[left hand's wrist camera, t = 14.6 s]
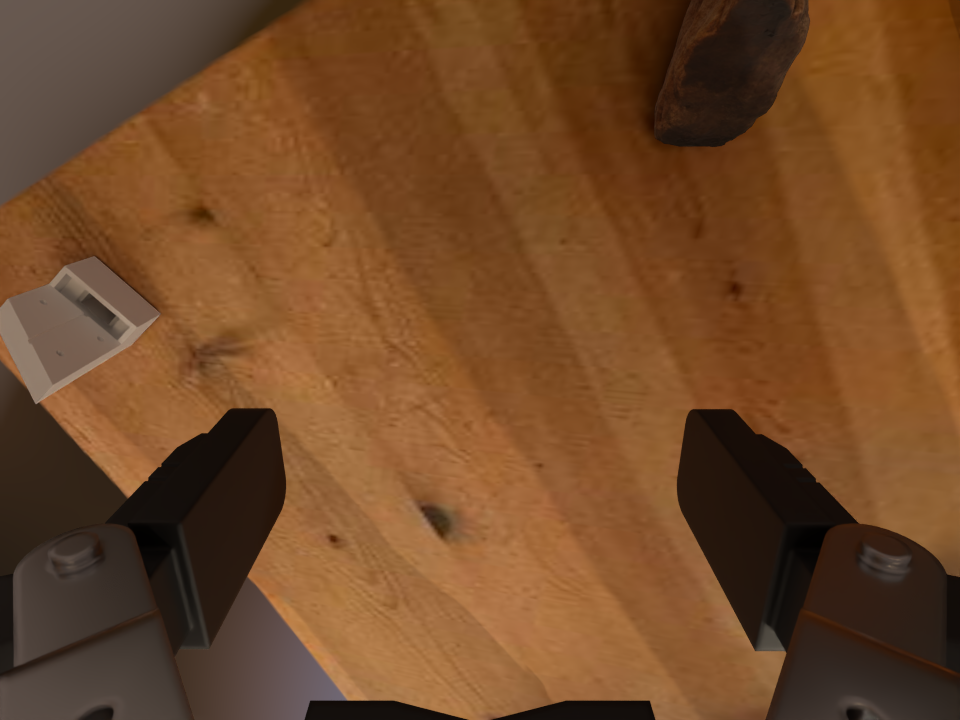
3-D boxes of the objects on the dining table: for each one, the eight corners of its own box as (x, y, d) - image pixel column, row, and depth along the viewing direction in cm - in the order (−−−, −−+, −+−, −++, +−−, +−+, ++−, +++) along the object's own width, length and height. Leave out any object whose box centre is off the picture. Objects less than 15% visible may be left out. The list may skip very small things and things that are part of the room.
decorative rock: (689, -79, 34) (777, -168, 24) (787, -57, 34) (915, -135, 24) (632, 138, 38) (687, 141, 28) (720, 155, 38) (805, 164, 28)
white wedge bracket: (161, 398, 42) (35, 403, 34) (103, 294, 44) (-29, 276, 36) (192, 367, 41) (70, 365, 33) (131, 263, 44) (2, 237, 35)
